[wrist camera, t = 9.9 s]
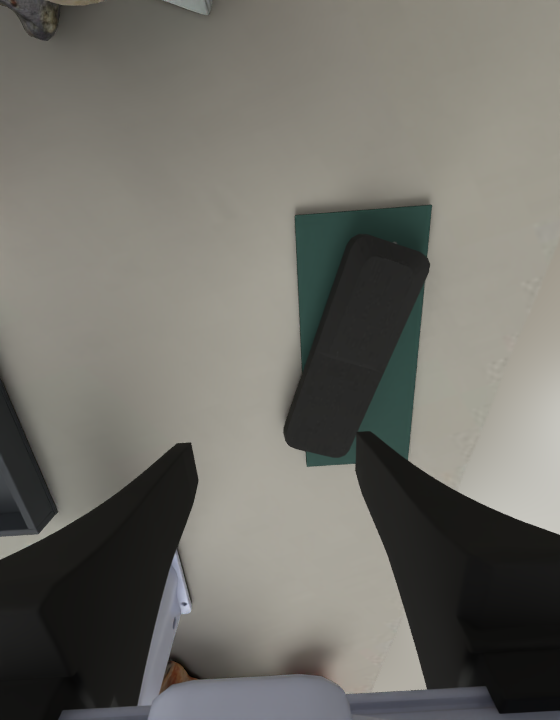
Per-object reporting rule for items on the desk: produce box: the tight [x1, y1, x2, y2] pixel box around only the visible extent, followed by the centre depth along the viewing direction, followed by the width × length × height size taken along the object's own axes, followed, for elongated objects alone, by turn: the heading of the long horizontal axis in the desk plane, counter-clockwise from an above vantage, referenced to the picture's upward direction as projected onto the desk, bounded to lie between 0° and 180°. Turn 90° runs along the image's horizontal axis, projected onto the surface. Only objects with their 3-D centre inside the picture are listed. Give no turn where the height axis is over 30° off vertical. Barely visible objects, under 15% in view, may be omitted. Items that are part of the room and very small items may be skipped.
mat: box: [295, 205, 432, 467], centre depth 20 cm, size 18×8×1 cm, turn 4°
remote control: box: [284, 234, 430, 458], centre depth 19 cm, size 5×2×15 cm
